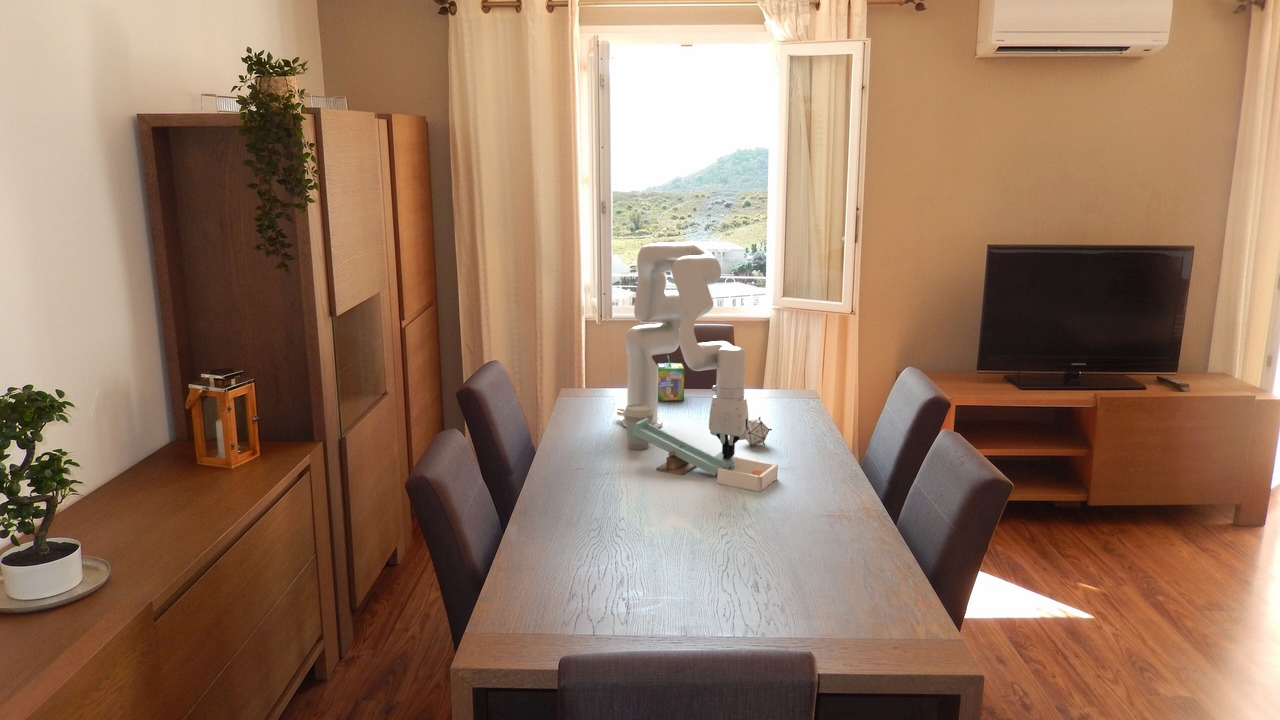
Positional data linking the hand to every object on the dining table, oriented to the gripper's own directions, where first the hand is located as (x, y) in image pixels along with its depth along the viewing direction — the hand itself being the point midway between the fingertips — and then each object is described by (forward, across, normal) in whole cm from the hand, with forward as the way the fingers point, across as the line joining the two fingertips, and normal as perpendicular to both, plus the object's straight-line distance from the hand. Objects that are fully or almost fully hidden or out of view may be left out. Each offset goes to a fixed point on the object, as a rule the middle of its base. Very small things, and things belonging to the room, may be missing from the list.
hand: (728, 457), depth 259 cm
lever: (-2, -11, -5) cm, 12 cm away
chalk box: (+2, -47, +56) cm, 73 cm away
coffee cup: (+2, -29, +2) cm, 29 cm away
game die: (+3, -1, +22) cm, 22 cm away
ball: (+1, +12, -8) cm, 15 cm away
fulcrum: (+2, -11, -8) cm, 14 cm away
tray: (+3, +9, -8) cm, 13 cm away
